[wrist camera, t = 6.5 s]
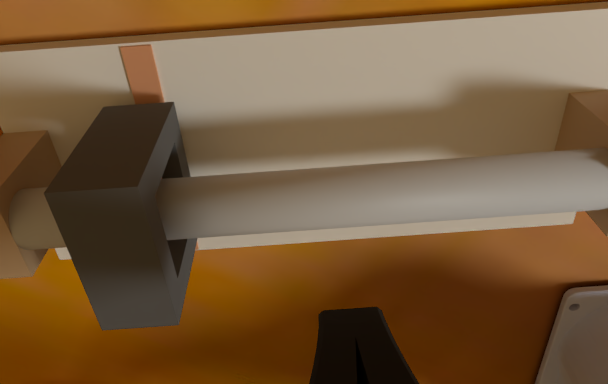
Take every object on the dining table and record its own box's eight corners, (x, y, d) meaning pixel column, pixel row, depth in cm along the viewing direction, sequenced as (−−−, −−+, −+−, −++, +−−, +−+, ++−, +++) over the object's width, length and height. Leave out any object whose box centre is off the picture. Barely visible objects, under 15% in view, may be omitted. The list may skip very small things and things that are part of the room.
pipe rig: (625, 0, 17) (737, 50, 13) (564, 212, 22) (630, 298, 18) (-20, 46, 17) (-118, 110, 13) (66, 247, 22) (15, 340, 18)
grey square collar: (173, 101, 17) (137, 186, 13) (200, 222, 20) (178, 325, 16) (103, 106, 17) (43, 193, 13) (140, 226, 20) (102, 330, 16)
